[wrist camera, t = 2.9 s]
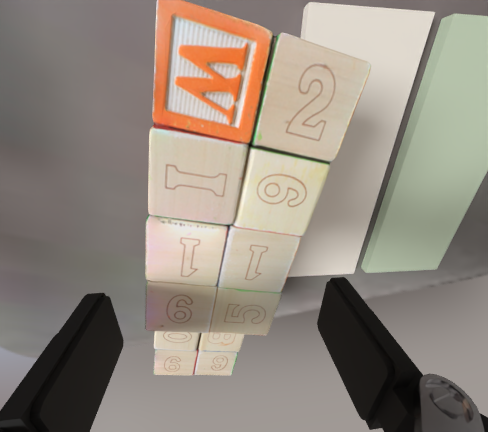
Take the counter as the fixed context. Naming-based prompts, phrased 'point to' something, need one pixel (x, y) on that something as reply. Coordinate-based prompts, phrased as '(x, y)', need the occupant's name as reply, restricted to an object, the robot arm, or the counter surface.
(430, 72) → the sage mat
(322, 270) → the cream mat
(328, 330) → the robot arm
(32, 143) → the counter surface
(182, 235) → the stack of blocks
